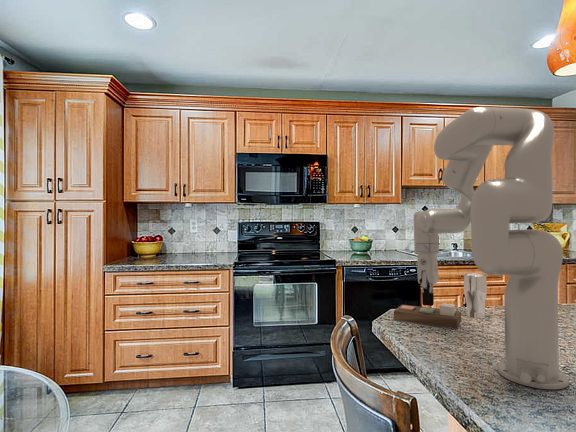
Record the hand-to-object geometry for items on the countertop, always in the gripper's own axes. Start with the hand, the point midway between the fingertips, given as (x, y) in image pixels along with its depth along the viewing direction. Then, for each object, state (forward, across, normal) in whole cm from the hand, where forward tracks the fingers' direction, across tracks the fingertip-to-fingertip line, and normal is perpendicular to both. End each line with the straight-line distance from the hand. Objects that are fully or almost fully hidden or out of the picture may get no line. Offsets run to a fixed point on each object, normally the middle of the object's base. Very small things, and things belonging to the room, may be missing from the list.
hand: (428, 304), depth 115 cm
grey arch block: (+6, +15, -12) cm, 20 cm away
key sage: (+5, +1, +1) cm, 5 cm away
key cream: (+3, +1, -6) cm, 6 cm away
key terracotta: (+5, +1, +7) cm, 8 cm away
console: (+6, +1, 0) cm, 6 cm away
